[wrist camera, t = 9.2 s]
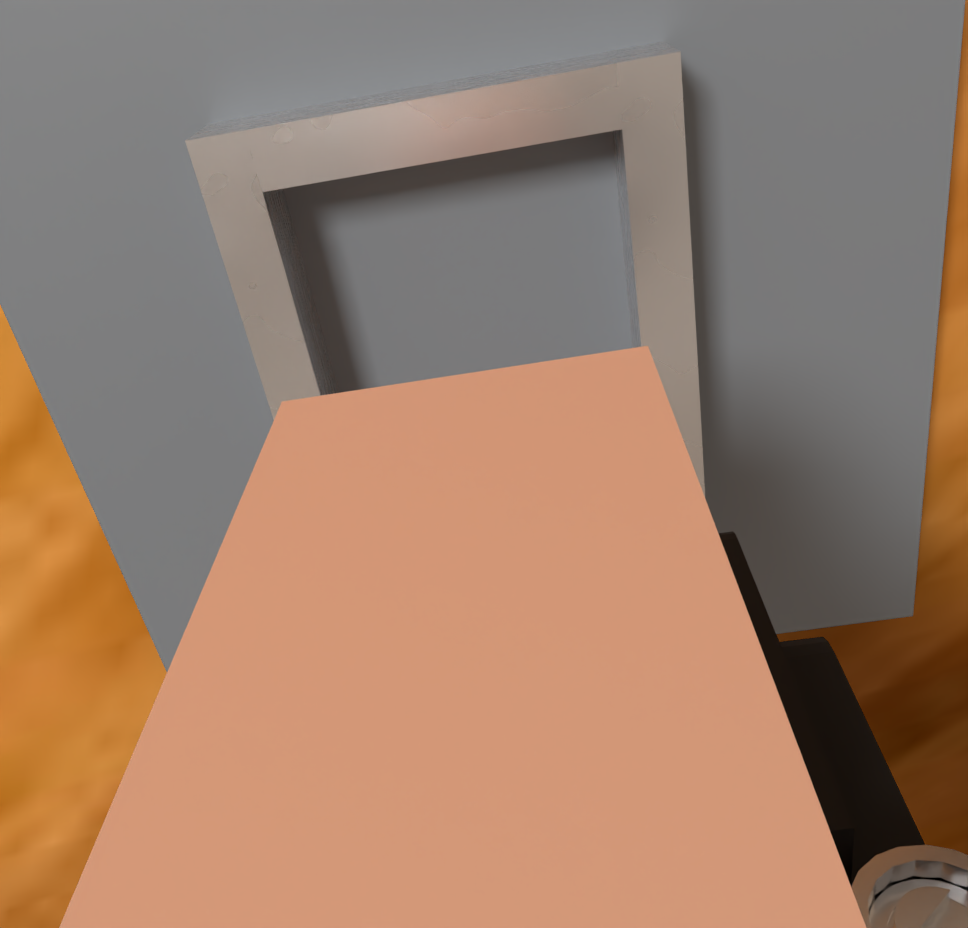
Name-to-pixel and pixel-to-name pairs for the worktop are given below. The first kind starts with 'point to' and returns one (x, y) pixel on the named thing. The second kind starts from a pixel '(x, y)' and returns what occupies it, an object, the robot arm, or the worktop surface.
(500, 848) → the key block
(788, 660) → the robot arm
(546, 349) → the nest board
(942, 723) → the worktop surface
